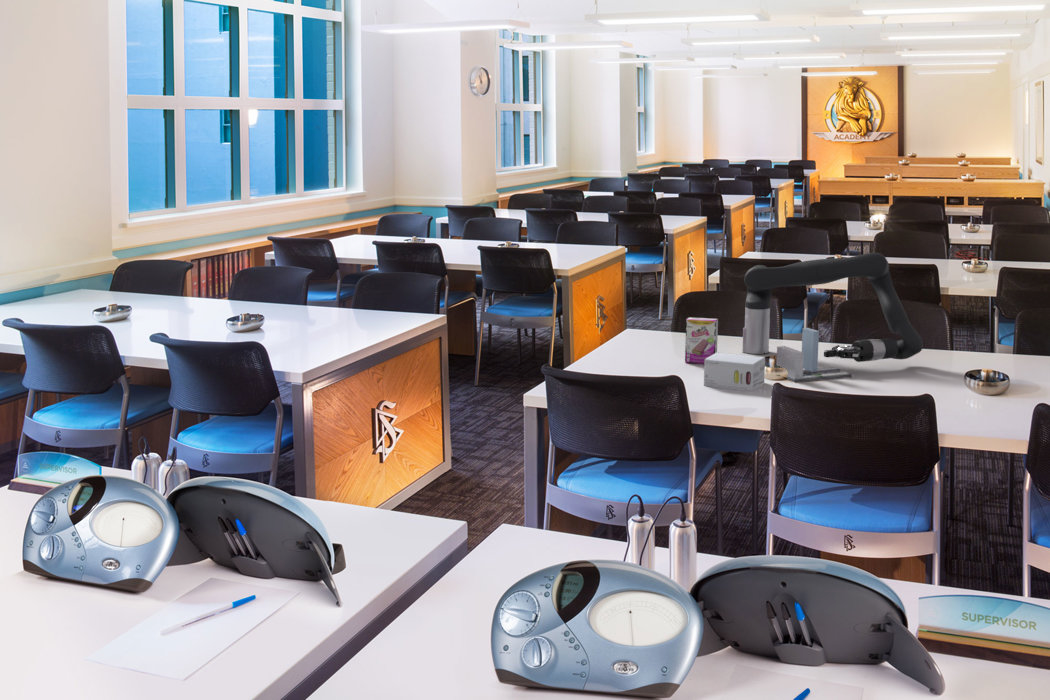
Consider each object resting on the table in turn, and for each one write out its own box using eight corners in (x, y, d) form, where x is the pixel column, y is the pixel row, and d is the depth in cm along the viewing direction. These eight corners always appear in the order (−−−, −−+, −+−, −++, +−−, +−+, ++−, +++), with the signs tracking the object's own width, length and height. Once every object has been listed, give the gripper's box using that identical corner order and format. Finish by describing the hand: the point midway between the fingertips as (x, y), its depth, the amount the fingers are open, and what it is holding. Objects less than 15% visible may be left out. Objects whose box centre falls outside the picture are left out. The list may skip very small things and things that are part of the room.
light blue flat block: (806, 368, 355) (807, 327, 352) (823, 374, 345) (824, 332, 342) (801, 368, 354) (802, 328, 352) (817, 375, 345) (819, 333, 342)
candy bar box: (684, 363, 374) (685, 319, 371) (687, 360, 379) (687, 317, 375) (715, 365, 370) (716, 320, 367) (717, 362, 375) (718, 318, 372)
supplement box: (703, 386, 339) (703, 358, 338) (716, 378, 351) (717, 351, 349) (752, 391, 331) (753, 363, 329) (764, 383, 342) (765, 356, 340)
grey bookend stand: (831, 369, 359) (832, 342, 357) (851, 377, 348) (852, 348, 346) (776, 374, 353) (777, 346, 351) (794, 382, 342) (795, 353, 340)
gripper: (857, 336, 362) (814, 340, 357) (880, 343, 350) (836, 346, 345) (856, 357, 364) (814, 360, 359) (879, 364, 351) (835, 368, 346)
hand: (825, 354), depth 352 cm, fingers closed
